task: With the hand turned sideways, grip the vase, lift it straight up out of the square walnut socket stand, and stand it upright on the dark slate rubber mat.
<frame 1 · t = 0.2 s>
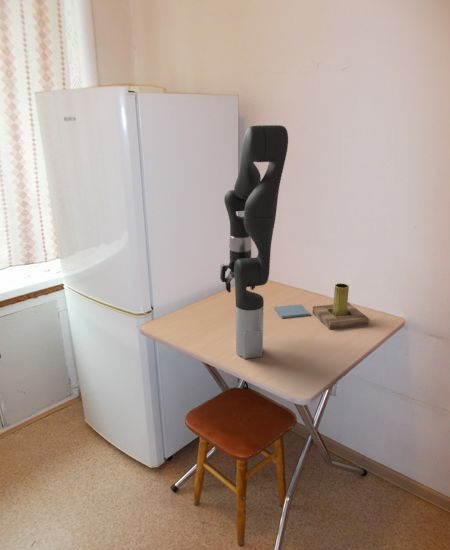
hand: (240, 290, 152), 17 cm above the table, tool pointing down, fingers open, 8 cm apart
slate mat: (291, 312, 176), on the table
socket stand: (339, 318, 169), on the table
vase: (339, 319, 169), resting in socket stand
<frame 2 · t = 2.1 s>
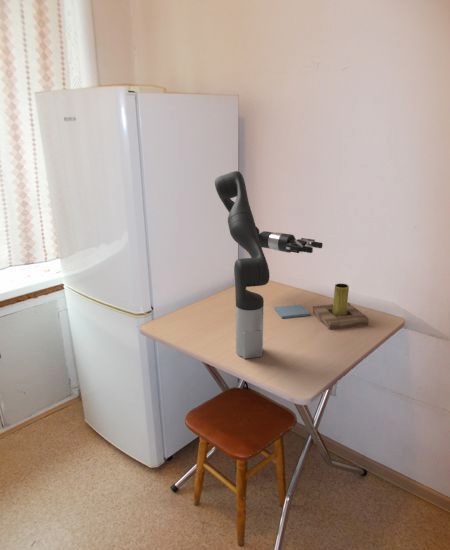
hand: (317, 247, 167), 28 cm above the table, tool horizontal, fingers open, 8 cm apart
nothing on the table moved.
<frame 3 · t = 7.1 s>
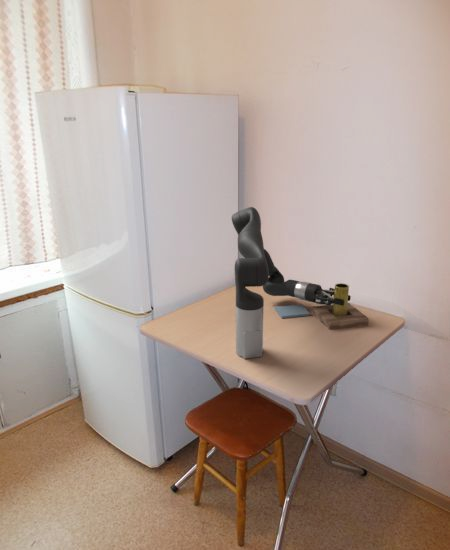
hand: (347, 300, 165), 9 cm above the table, tool horizontal, fingers closed on vase, 5 cm apart
vase: (339, 319, 169), resting in socket stand, touching gripper
when the fingers open (10 cm above the table, at t = 12.8 s): vase stays where it is, resting on slate mat.
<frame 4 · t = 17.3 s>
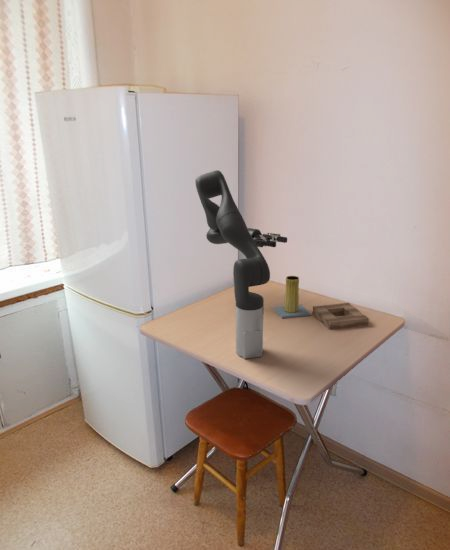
hand: (281, 242, 167), 30 cm above the table, tool horizontal, fingers open, 8 cm apart
vase: (291, 310, 176), point 1 cm above the table, touching slate mat
at the end: vase inside the target area on the slate mat (0.2 cm from its centre), point 0.8 cm above the slate mat's base; vase tilted 0°; the gripper is holding nothing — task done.
